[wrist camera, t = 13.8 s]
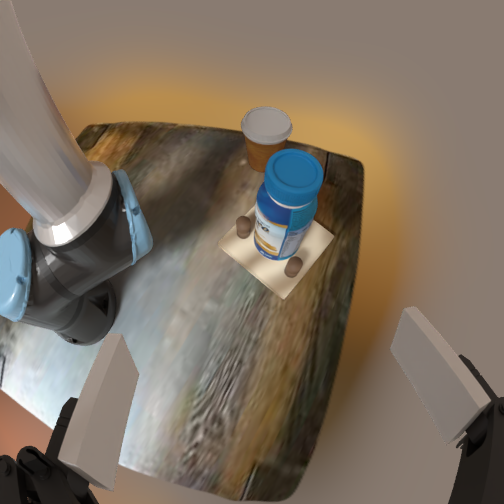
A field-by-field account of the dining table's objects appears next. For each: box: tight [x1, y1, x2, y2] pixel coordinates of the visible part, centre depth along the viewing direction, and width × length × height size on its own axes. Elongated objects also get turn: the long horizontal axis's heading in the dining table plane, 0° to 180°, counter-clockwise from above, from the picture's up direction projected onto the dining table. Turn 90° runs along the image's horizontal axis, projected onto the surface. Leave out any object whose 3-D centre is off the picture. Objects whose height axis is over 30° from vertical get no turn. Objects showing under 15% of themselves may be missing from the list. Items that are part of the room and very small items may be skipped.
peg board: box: [218, 206, 335, 300], centre depth 47 cm, size 15×15×6 cm
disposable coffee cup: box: [241, 107, 292, 172], centre depth 51 cm, size 10×10×12 cm
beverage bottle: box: [254, 149, 323, 261], centre depth 39 cm, size 8×8×20 cm
